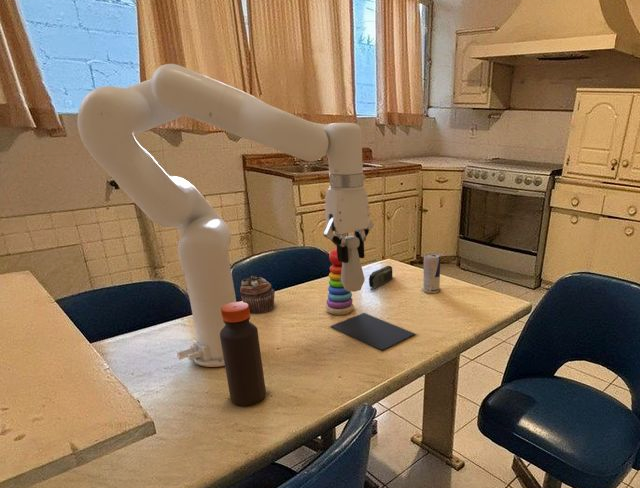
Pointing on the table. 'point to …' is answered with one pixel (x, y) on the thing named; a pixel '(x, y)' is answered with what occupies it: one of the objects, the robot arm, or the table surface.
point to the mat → (373, 331)
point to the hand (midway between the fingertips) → (351, 258)
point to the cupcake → (257, 294)
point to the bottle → (242, 355)
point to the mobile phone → (380, 277)
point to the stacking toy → (337, 289)
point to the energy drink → (431, 273)
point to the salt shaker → (352, 267)
